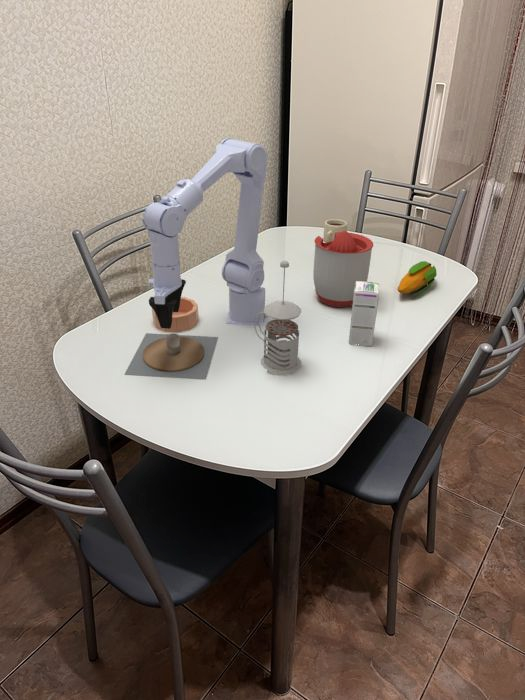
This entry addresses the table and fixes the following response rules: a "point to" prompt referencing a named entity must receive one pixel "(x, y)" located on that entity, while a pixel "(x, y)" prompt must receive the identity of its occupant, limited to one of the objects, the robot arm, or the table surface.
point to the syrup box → (364, 313)
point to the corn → (417, 278)
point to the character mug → (333, 228)
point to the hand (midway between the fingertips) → (170, 319)
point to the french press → (281, 336)
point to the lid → (173, 353)
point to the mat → (196, 372)
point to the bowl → (181, 316)
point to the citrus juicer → (340, 267)
